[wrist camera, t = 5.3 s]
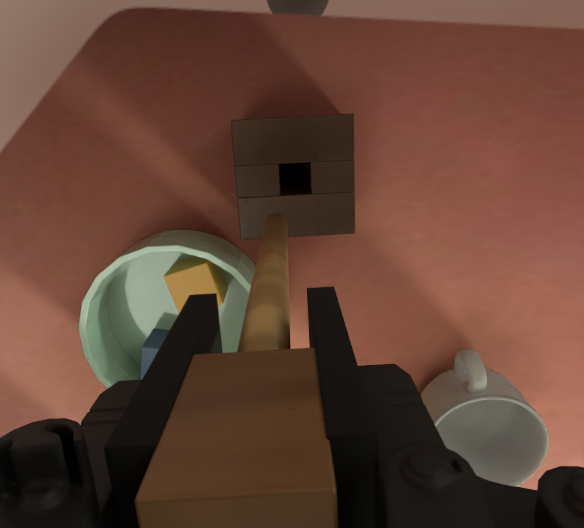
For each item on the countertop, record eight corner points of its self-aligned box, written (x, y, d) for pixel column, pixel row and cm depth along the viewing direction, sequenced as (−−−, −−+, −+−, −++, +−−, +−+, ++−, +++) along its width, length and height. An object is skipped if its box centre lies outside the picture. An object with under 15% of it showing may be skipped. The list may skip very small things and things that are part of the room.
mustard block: (173, 262, 44) (162, 276, 40) (213, 250, 43) (206, 262, 40) (189, 300, 45) (180, 317, 41) (228, 288, 45) (223, 304, 41)
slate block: (153, 328, 46) (141, 346, 42) (194, 332, 46) (186, 351, 42) (151, 364, 47) (140, 386, 43) (192, 368, 47) (183, 390, 43)
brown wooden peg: (253, 202, 29) (132, 500, 6) (295, 200, 29) (337, 489, 6) (256, 243, 30) (159, 648, 7) (297, 240, 30) (342, 640, 7)
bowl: (92, 233, 44) (62, 250, 38) (265, 224, 44) (262, 240, 38) (119, 386, 48) (96, 422, 43) (275, 378, 48) (274, 413, 43)
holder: (239, 120, 41) (230, 120, 34) (342, 114, 41) (353, 113, 34) (247, 221, 44) (240, 239, 37) (344, 216, 44) (355, 233, 37)
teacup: (502, 440, 51) (541, 497, 43) (403, 443, 51) (423, 500, 43) (517, 322, 47) (562, 361, 39) (409, 325, 47) (433, 365, 39)
